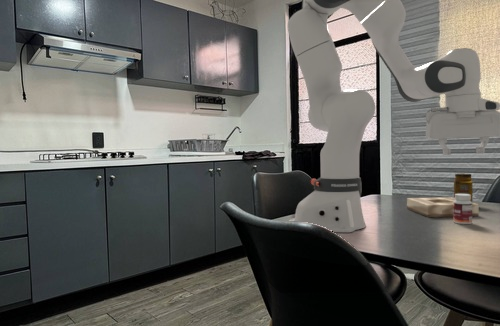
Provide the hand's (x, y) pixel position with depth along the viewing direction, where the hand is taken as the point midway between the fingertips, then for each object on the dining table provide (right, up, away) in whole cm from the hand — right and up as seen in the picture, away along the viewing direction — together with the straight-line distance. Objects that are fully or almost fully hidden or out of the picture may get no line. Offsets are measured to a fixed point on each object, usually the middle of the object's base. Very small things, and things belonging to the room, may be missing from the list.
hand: (463, 154), depth 101 cm
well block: (+3, -20, +18) cm, 27 cm away
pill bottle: (0, -21, +1) cm, 21 cm away
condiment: (+17, -19, +29) cm, 39 cm away
